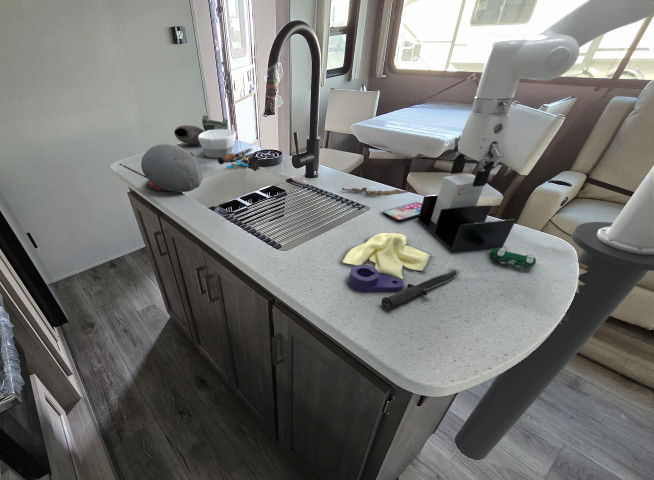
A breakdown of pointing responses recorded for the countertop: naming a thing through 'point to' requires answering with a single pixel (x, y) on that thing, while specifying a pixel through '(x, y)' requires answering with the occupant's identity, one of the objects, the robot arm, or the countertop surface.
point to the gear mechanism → (239, 162)
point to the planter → (188, 134)
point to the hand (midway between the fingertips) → (466, 179)
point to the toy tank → (213, 124)
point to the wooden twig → (377, 192)
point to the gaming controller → (513, 257)
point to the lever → (373, 280)
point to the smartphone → (404, 212)
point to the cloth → (388, 254)
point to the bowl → (217, 142)
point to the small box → (456, 193)
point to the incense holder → (149, 181)
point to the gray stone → (171, 168)
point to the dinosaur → (242, 156)
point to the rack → (464, 227)
